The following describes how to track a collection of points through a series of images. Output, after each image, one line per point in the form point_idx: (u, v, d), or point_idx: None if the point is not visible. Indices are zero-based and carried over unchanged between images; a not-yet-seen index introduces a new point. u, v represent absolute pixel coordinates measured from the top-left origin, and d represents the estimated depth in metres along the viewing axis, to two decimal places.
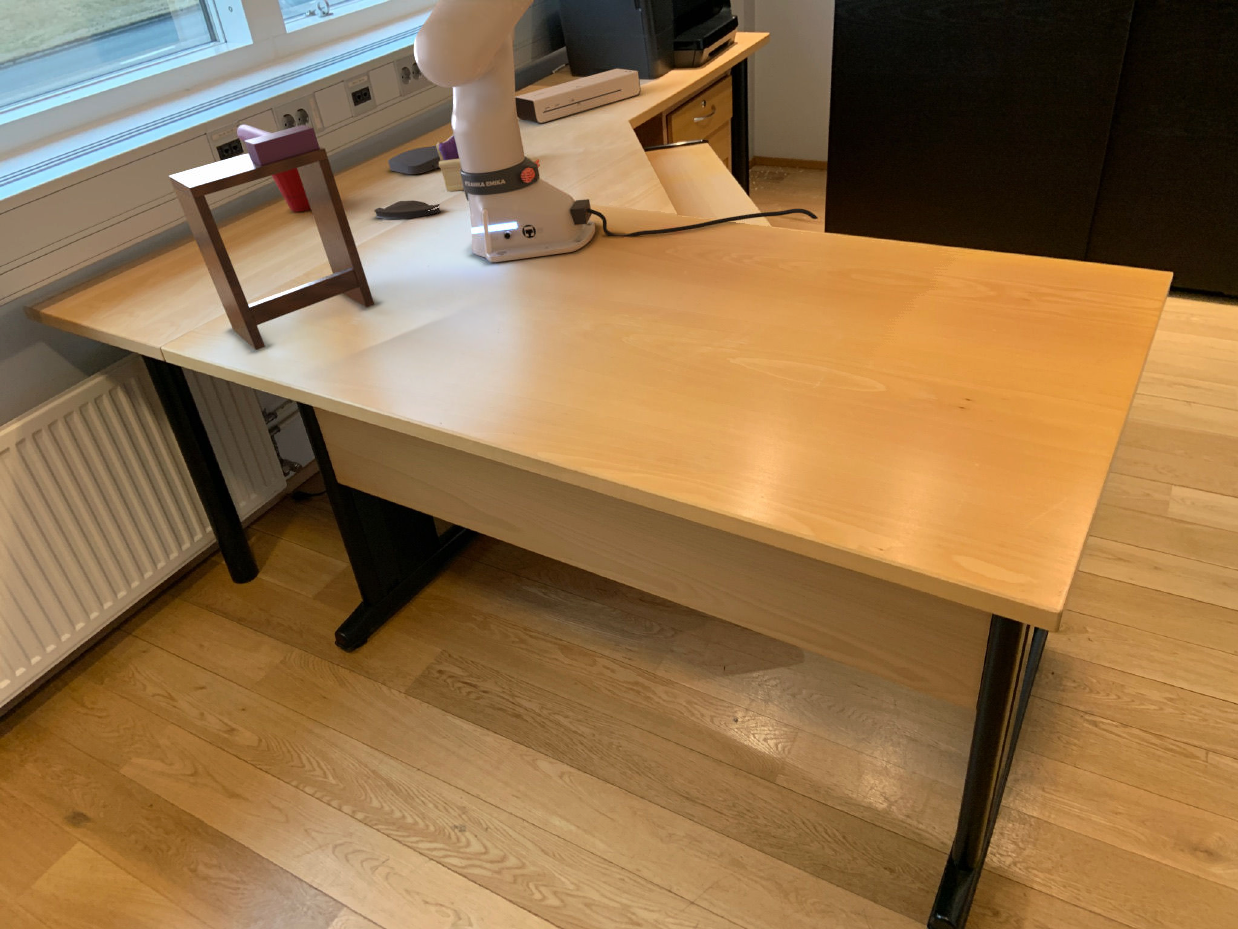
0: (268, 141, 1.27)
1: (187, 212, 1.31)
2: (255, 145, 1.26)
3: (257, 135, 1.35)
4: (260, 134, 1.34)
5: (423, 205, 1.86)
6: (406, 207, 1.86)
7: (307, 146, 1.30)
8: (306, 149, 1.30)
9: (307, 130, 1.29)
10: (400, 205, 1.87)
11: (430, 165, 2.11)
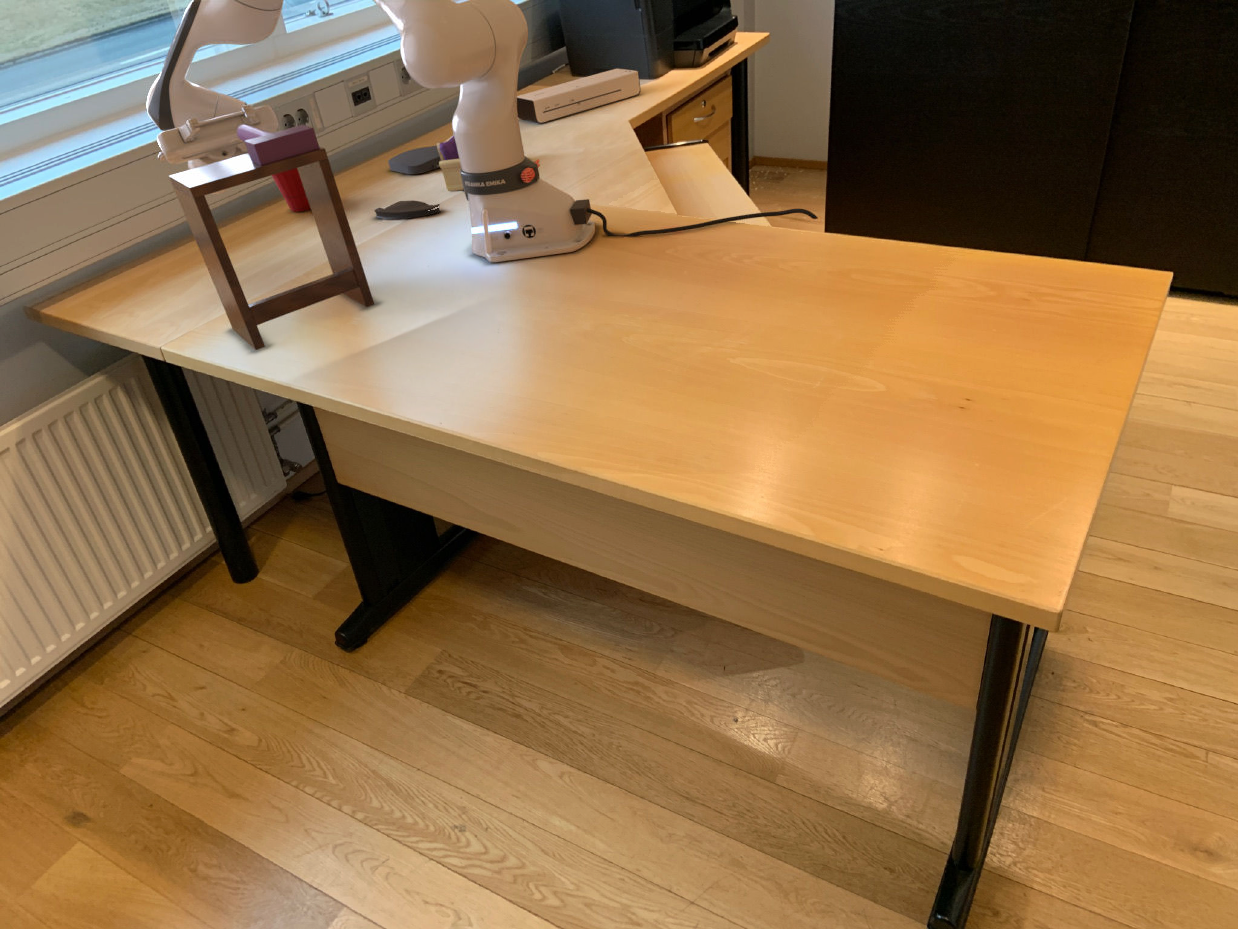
0: (268, 141, 1.27)
1: (187, 212, 1.31)
2: (255, 145, 1.26)
3: (257, 135, 1.35)
4: (260, 134, 1.34)
5: (423, 205, 1.86)
6: (406, 207, 1.86)
7: (307, 146, 1.30)
8: (306, 149, 1.30)
9: (307, 130, 1.29)
10: (400, 205, 1.87)
11: (430, 165, 2.11)
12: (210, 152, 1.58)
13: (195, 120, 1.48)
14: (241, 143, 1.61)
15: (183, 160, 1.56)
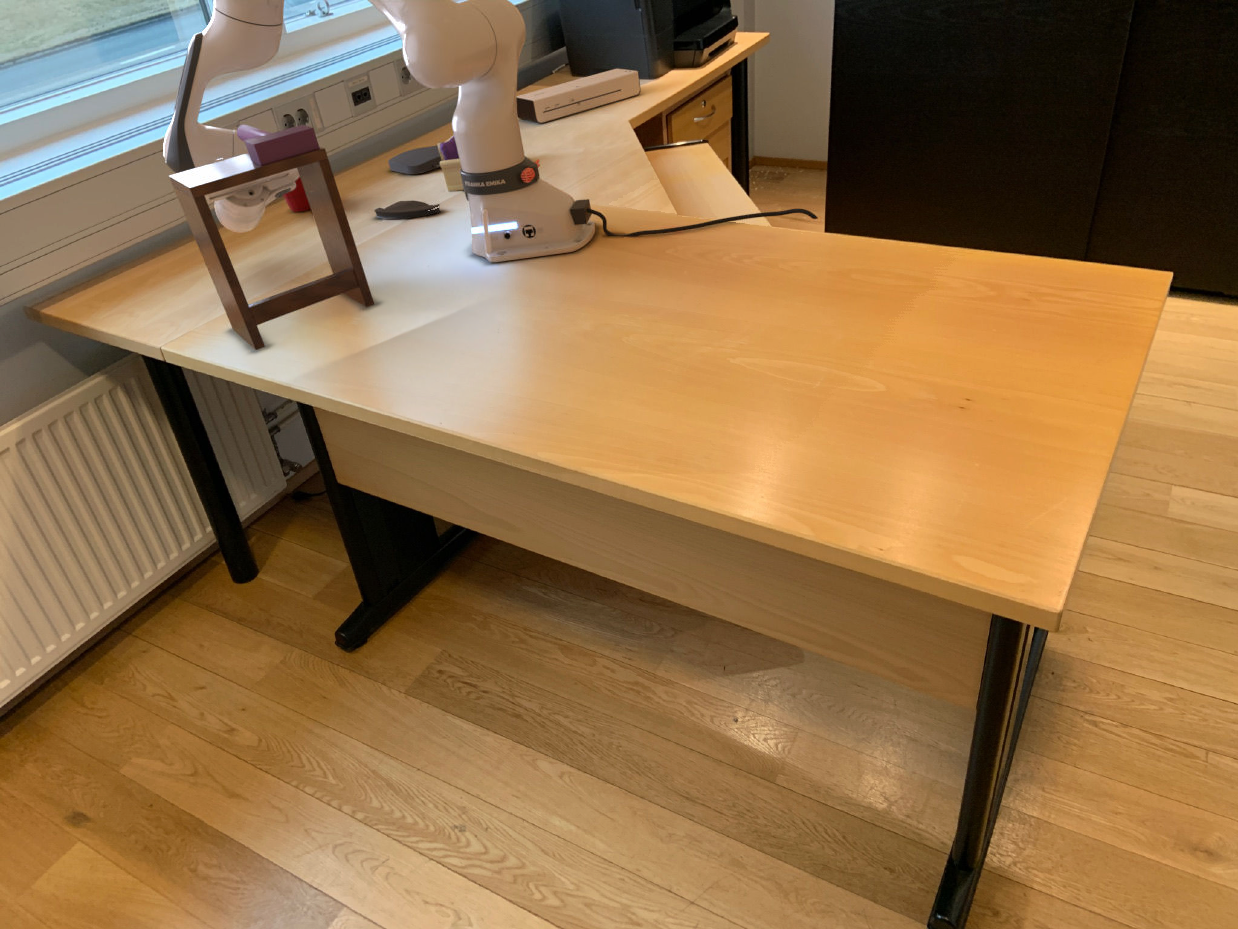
0: (268, 141, 1.27)
1: (187, 212, 1.31)
2: (255, 145, 1.26)
3: (257, 135, 1.35)
4: (260, 134, 1.34)
5: (423, 205, 1.86)
6: (406, 207, 1.86)
7: (307, 146, 1.30)
8: (306, 149, 1.30)
9: (307, 130, 1.29)
10: (400, 205, 1.87)
11: (430, 165, 2.11)
12: (237, 192, 1.56)
13: (222, 160, 1.46)
14: (268, 182, 1.59)
15: (210, 200, 1.54)
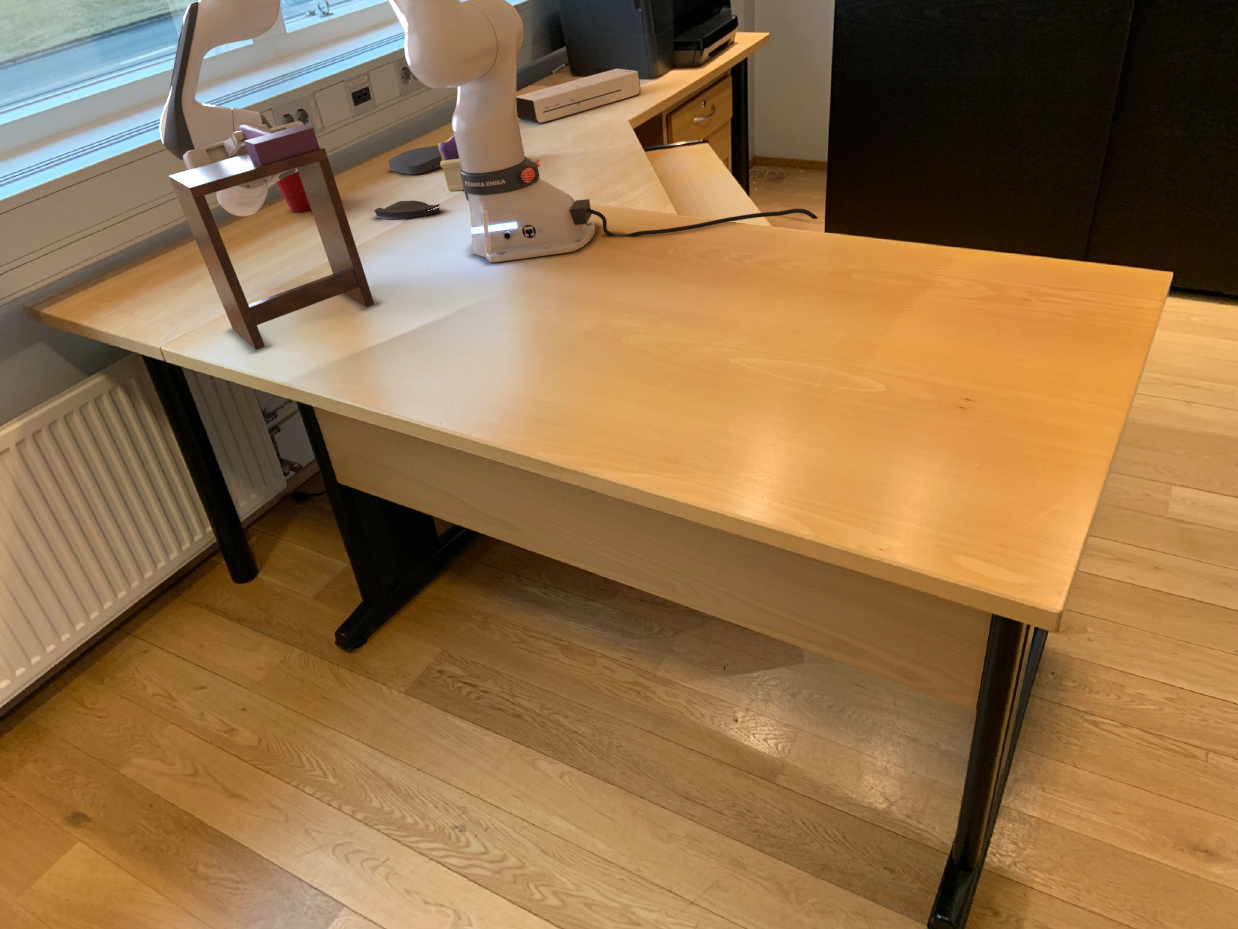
0: (268, 141, 1.27)
1: (187, 212, 1.31)
2: (255, 145, 1.26)
3: (257, 135, 1.35)
4: (260, 134, 1.34)
5: (423, 205, 1.86)
6: (406, 207, 1.86)
7: (307, 146, 1.30)
8: (306, 149, 1.30)
9: (307, 130, 1.29)
10: (400, 205, 1.87)
11: (430, 165, 2.11)
12: None
13: (241, 133, 1.39)
14: None
15: None
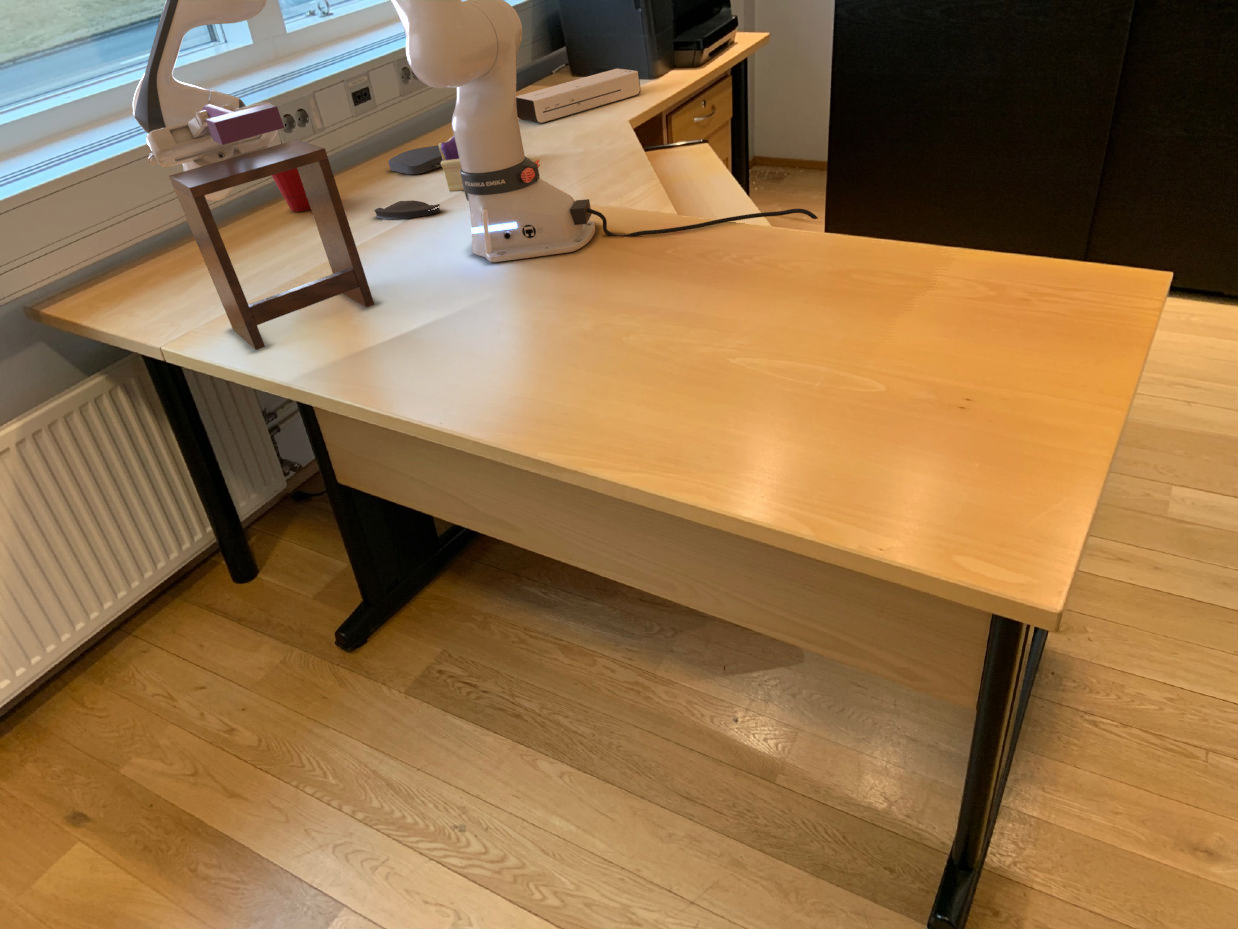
0: (230, 119, 1.23)
1: (187, 212, 1.31)
2: (216, 123, 1.22)
3: (221, 114, 1.31)
4: (224, 113, 1.30)
5: (423, 205, 1.86)
6: (406, 207, 1.86)
7: (271, 125, 1.26)
8: (270, 128, 1.26)
9: (271, 109, 1.25)
10: (400, 205, 1.87)
11: (430, 165, 2.11)
12: (205, 154, 1.45)
13: (205, 113, 1.35)
14: (239, 144, 1.47)
15: (176, 163, 1.43)
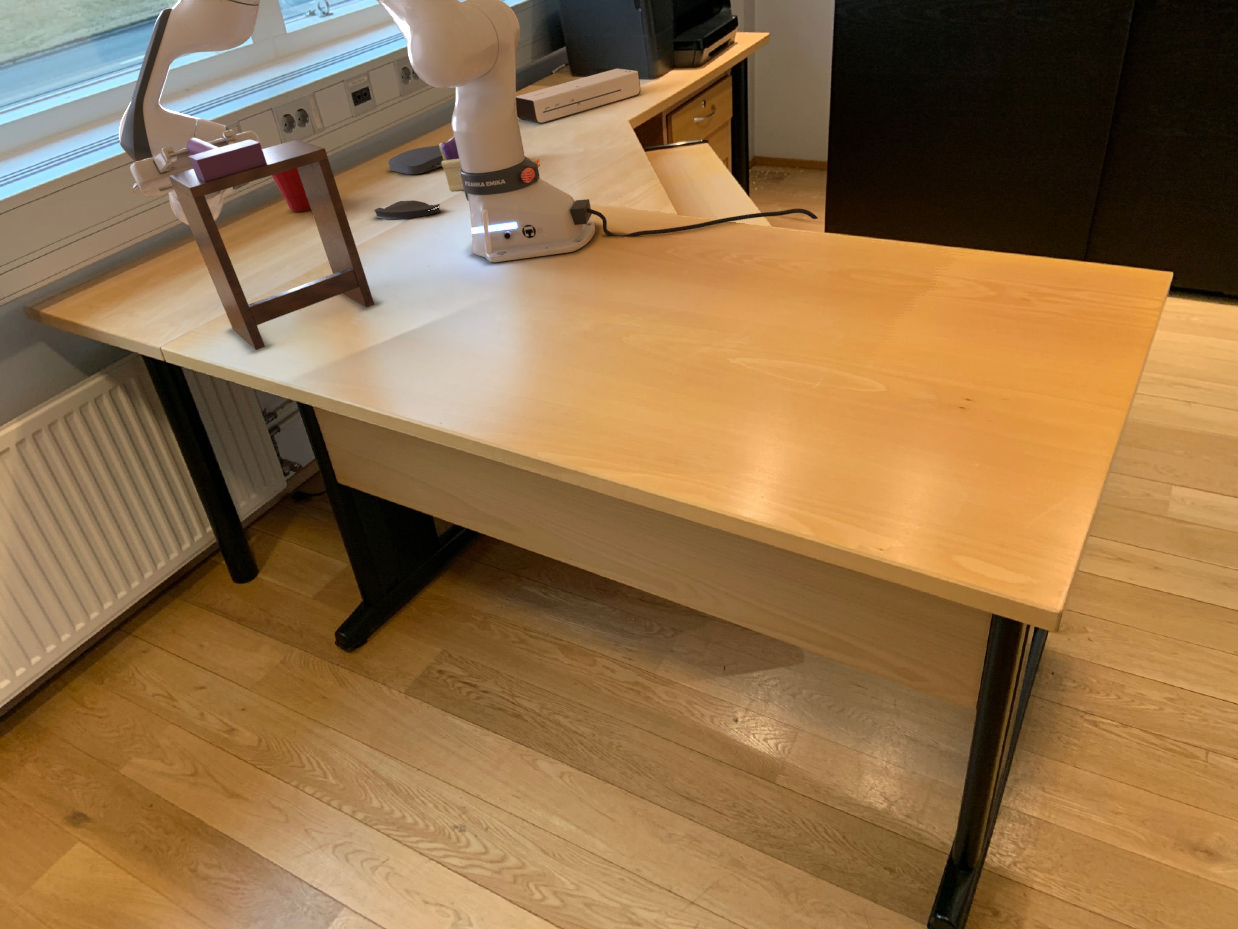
0: (212, 157, 1.23)
1: (187, 212, 1.31)
2: (198, 161, 1.22)
3: (204, 150, 1.31)
4: (207, 149, 1.31)
5: (423, 205, 1.86)
6: (406, 207, 1.86)
7: (254, 161, 1.27)
8: (253, 165, 1.27)
9: (253, 145, 1.26)
10: (400, 205, 1.87)
11: (430, 165, 2.11)
12: None
13: (171, 148, 1.34)
14: None
15: (160, 192, 1.43)
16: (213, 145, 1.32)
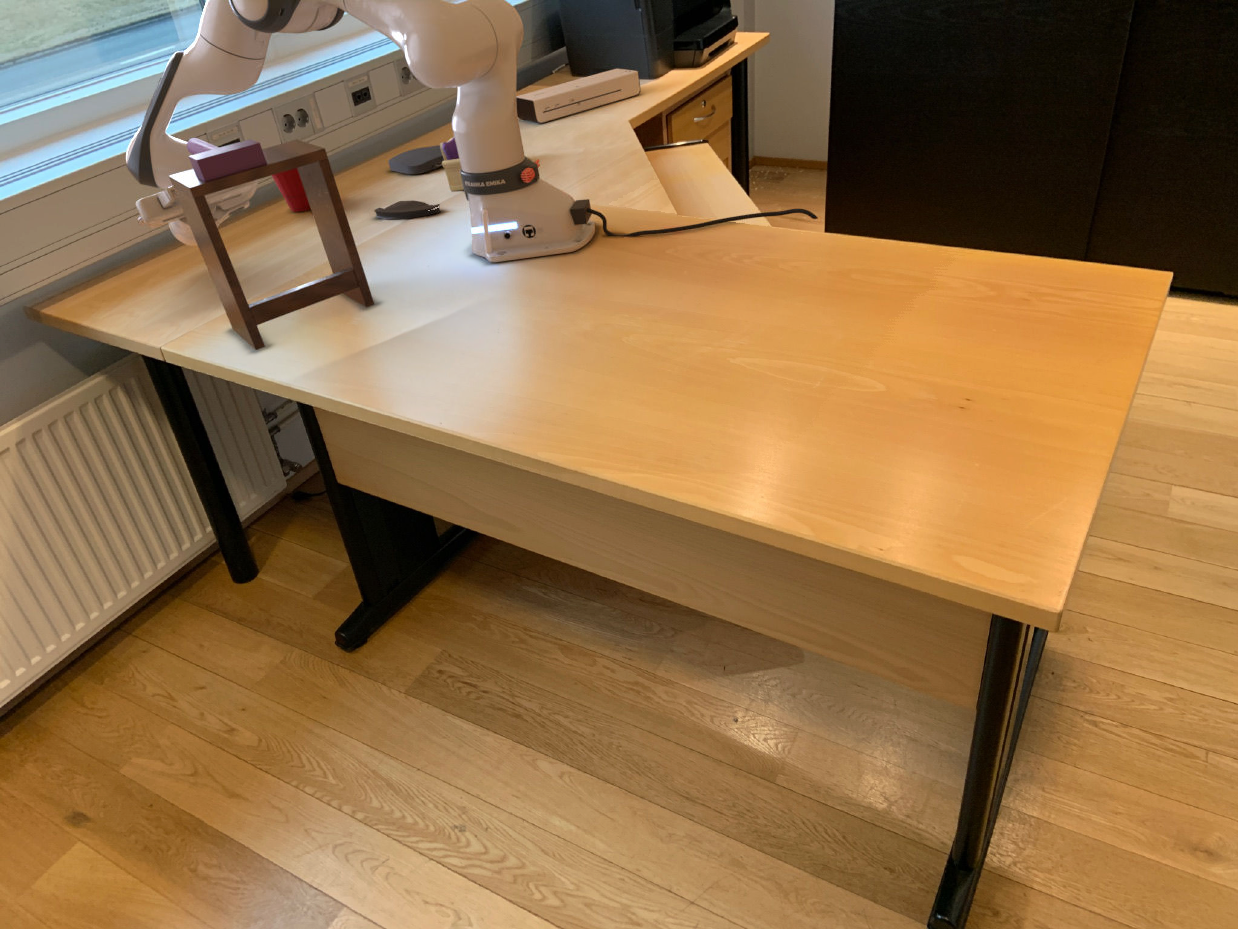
0: (212, 157, 1.23)
1: (187, 212, 1.31)
2: (198, 161, 1.22)
3: (204, 150, 1.31)
4: (207, 149, 1.31)
5: (423, 205, 1.86)
6: (406, 207, 1.86)
7: (254, 161, 1.27)
8: (253, 165, 1.27)
9: (253, 145, 1.26)
10: (400, 205, 1.87)
11: (430, 165, 2.11)
12: None
13: None
14: (221, 202, 1.59)
15: (163, 223, 1.55)
16: (213, 145, 1.32)
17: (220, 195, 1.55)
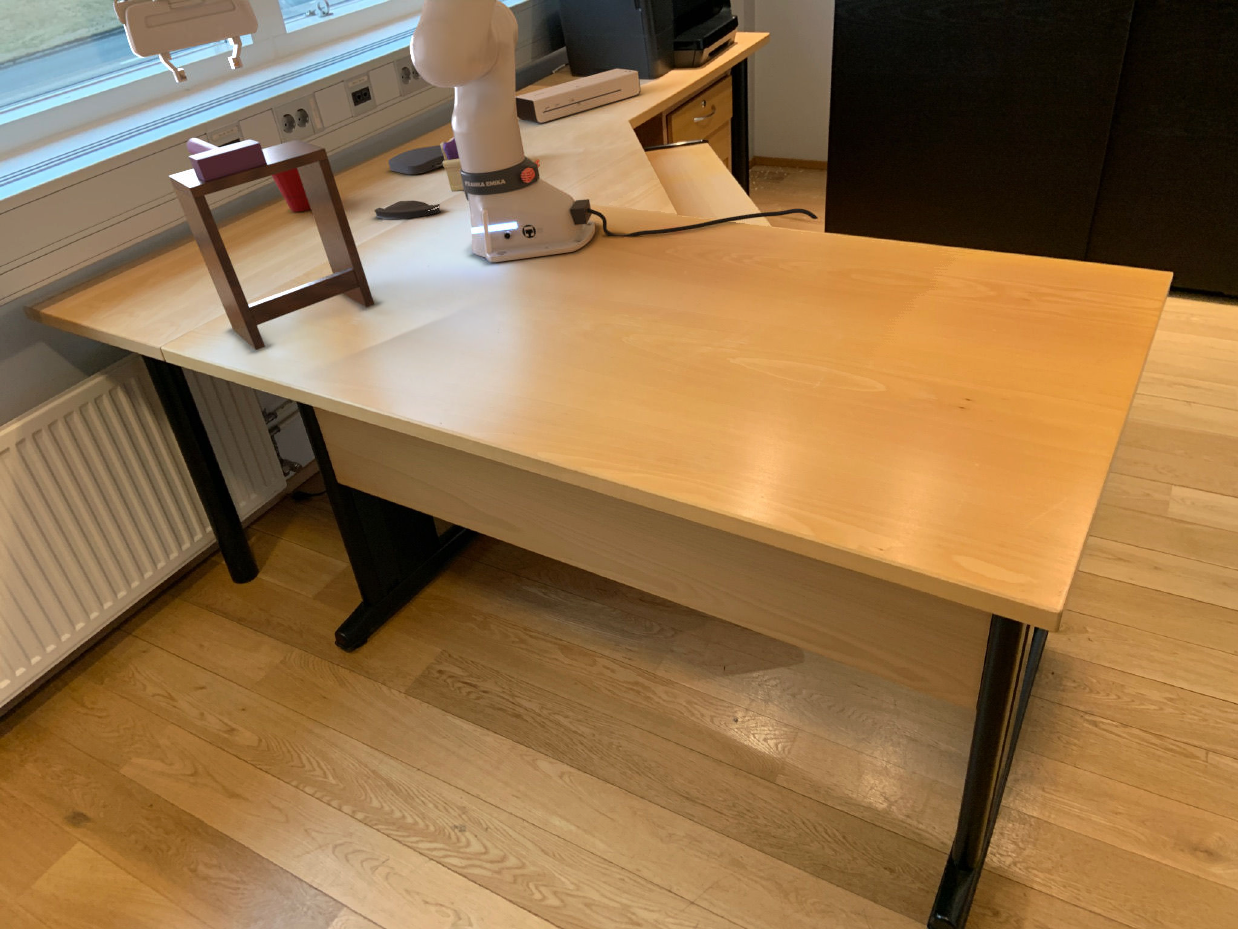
0: (212, 157, 1.23)
1: (187, 212, 1.31)
2: (198, 161, 1.22)
3: (204, 150, 1.31)
4: (207, 149, 1.31)
5: (423, 205, 1.86)
6: (406, 207, 1.86)
7: (254, 161, 1.27)
8: (253, 165, 1.27)
9: (253, 145, 1.26)
10: (400, 205, 1.87)
11: (430, 165, 2.11)
12: None
13: (185, 80, 1.47)
14: None
15: None
16: (213, 145, 1.32)
17: None
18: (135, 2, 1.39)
